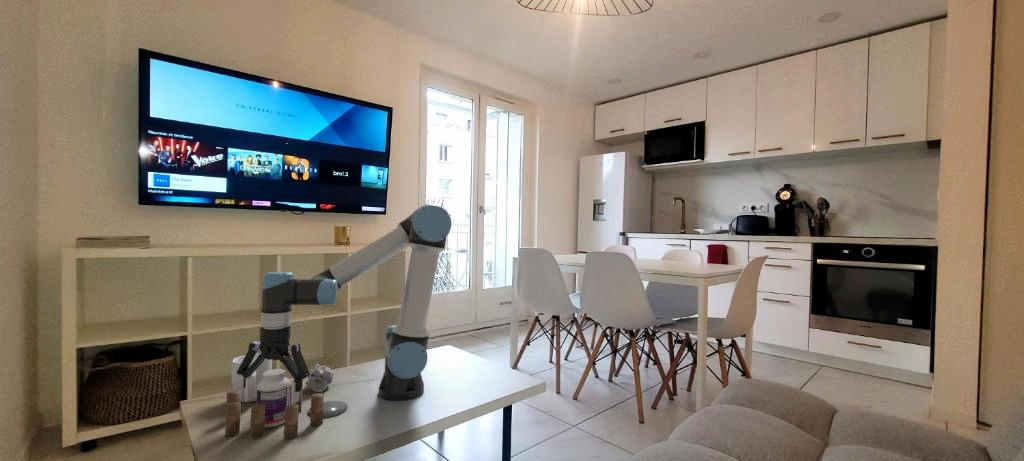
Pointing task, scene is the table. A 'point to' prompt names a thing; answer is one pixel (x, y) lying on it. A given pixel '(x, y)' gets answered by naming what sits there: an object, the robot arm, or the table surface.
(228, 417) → the dowel posts
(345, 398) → the table surface
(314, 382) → the figurine
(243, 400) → the mug
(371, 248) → the robot arm
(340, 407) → the coaster
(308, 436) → the table surface
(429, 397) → the table surface
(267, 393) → the pill bottle
